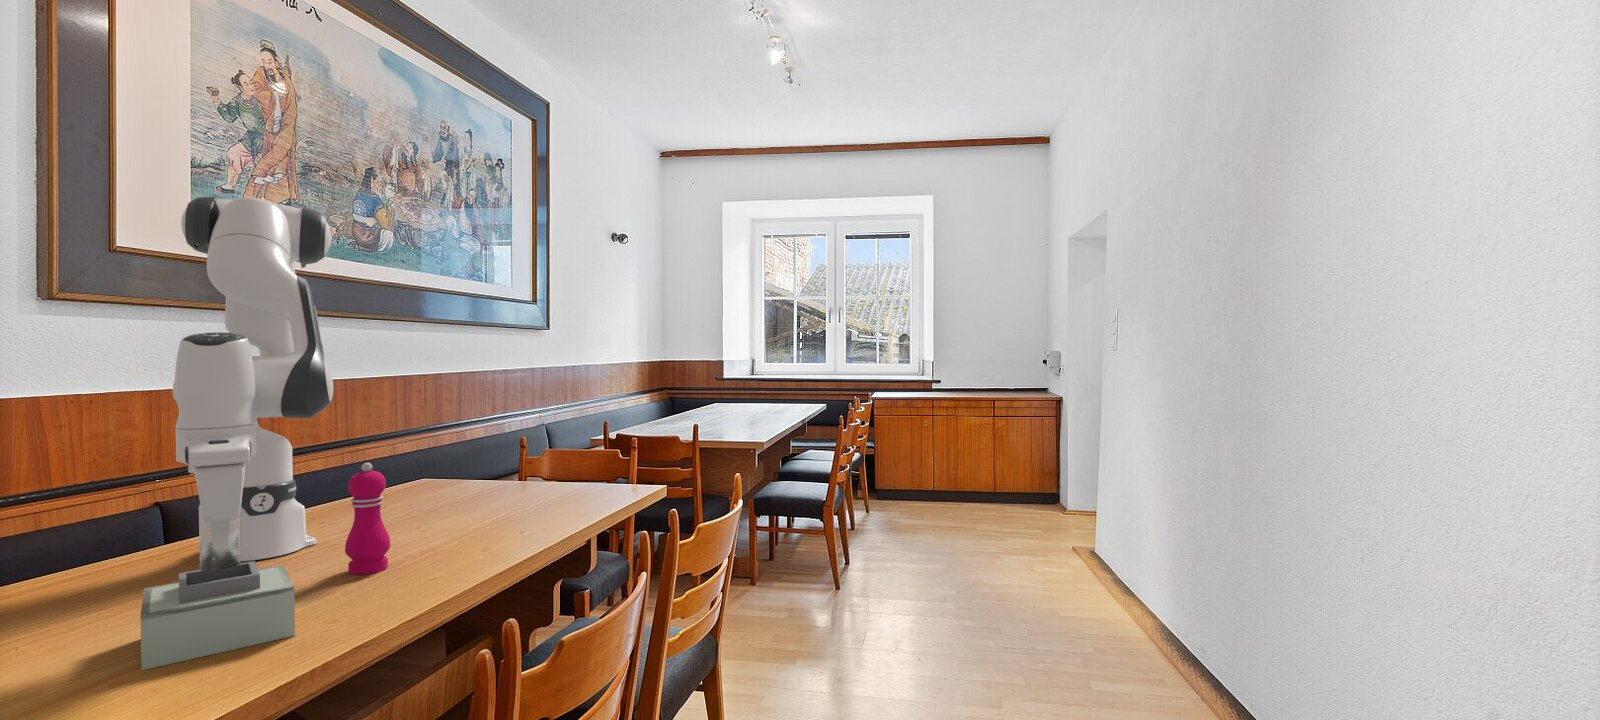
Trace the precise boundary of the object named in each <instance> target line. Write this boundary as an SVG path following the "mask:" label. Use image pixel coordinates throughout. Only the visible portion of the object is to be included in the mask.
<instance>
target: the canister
mask: <svg viewBox="0 0 1600 720" xmlns="http://www.w3.org/2000/svg"><path fill="white" fill-rule="evenodd" d="M198 529H199V530H198V531H199V533H198V535H199V537H198V539H199V540H198V541H199V558H200V561H199V570H202V571H214V570H221V569H227V568H231V567H234V566H237V565H239V564H240V563H241V561H240V537H239V517H238V519H236V520H232V521H230V528H229V545H228V546H227V547H225V548H218V549H214V548H213V547H212V535H211V527H210V523H205V522H204V519H203V515H202V510H201V505H200V504H199V505H198Z"/></svg>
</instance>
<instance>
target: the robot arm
mask: <svg viewBox="0 0 1600 720" xmlns="http://www.w3.org/2000/svg"><path fill="white" fill-rule="evenodd" d="M181 215H182V216H181V221H180V222H181V223H180V224H181V225H180V226H181V230H182V233H183V236H184V238H185V241H186V242H185V243H186V244H187V245H188V246H189V247H191V248H192V249H193V250H194V251H196V252H199V253H202V254H206V273H207V277H208V279H209V281H210V282H211V284H212V286H213V287H214V288H215V289H216V290H217V291H218V292H220V293H221V294H222V295H223V296H224V297H225V306H224V307H225V308H224V309H225V310H224V326H225V329H226V330H227V332H205V333H194V334H190V335H188V336H185V337H183V338H182V339H181V340H180V341H179V346H178V350H177V355H176V361H175V362H176V363H175V372H174V381H173V385H172V396H173V400H174V401H175V403H176V405H177V407H178V416H177V419H176V423H175V431H174V432H175V460H176V462H178V463H182V464H184V465H187V466H188V468H187V469H188V471H187V472H188V473H189V474H194V476H195V480H196V481H195V482H196V486H197V487H196V488H197V493H198V499H199V505H201V510H202V515H203V519H204V522H205V523H210V527H211V535H212V547H213V548H214V549H218V548H225V547H227V546H228V545H229V528H230V521H232V520H236V519H238V517H239V537H240V562H251V561H256V560H258V561H259V560H263V559H269V558H274V557H280V556H283V555H288V554H291V553H293V552H296V551H299V550H302V549H303V548H307V547H309V546H313V545H316V544H317V543H318V542H317V538H316V537H313V536H311V535H308V534H307V524H306V523H307V522H306V510H305V509H306V508H305V505H303V504H302V503H301V502H298V501H297V500H296V498H295V497H296V496H297V492H296V491H297V485H296V480H295V479H294V476H293V475H294V474H293V473H294V472H293V470H294V469H293V467H294V466H293V446H292V444H291V442H290V440H289V439H287V438H286V437H285V436H283V435H281V434H279V433H276V432H273V431H271V430H268V429H264V428H261V426H260V425H259V423H258V419H263V418H266V419H267V418H289V419H291V418H292V419H312V418H313V417H315V416H317V415H318V414H320V413H321V412H322V411H324V410H325V409H326V408H328V406H330V405H331V402H332V400H333V399H332V398H333V396H334V395H333V394H334V380H333V375H332V373H331V370H330V368H329V366H328V363H327V361H326V359H325V353H324V349H323V342H322V336H321V335H322V334H321V329H320V324H319V318H318V313H317V309H316V308H317V307H316V305H315V300H314V295H313V292H312V288H311V285H310V284H309V283H308V280H307V279H306V278H304V277H302V276H300V275H297V274H296V269H295V262H297V263H300V266H301V269H303V268H306V266H307V265H312V264H316V263H319V261H321V260H323V259H324V258H325V256H326V254H327V253H328V252H329V250H330V247H331V245H332V232H331V228H330V226H329V223H328V221H327V218H326V217H325V215H324V214H323V213H321V212H319V211H316V210H313V209H309V208H306V207H303V208H298V207H295V206H290V205H285V204H281V203H276V202H270V201H267V200H265V199H263V198H258V197H240V198H237V199H233V198H232V199H230V198H219V197H218V196H202V197H201V196H200V197H196V198H194V199H192V200H191V201H189V202H188V204H187V206H186V208H185V209H184V210H183V214H181ZM251 346H253V347H256V348H258V350H259V354H260V355H257V356H255V355H253V354H252V349H251ZM198 561H199V562H200V557H199V559H198Z"/></svg>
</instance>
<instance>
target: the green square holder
mask: <svg viewBox="0 0 1600 720" xmlns="http://www.w3.org/2000/svg"><path fill="white" fill-rule="evenodd" d="M292 581H293V580H292V579H291V578H290V575H289V574H288V572H287V570H286V568H285V565H284V564H280V565H275V566H269V567H262V568H258V566H257V564H256V560H250V561H244V562H240V564H239V565H237V566H234V567H231V568H227V569H221V570H214V571H202V570H200V569H197V570H191V571H183V572H180V573H178V582H175V583H168V584H162V585H157V586H156V585H155V586H152V587H145V588H144V589H143V594H142V595H143V597H142V603H141V609H140V617H139V618H140V656H141V657H140V659H141V671H145V670H149V669H154V668H158V667H162V666H167V665H172V664H176V663H180V662H184V661H189V660H193V659H197V658H198V659H199V658H203V657H207V656H210V655H211V656H212V655H215V654H220V653H224V652H229V651H234V650H238V649H241V648H242V649H243V648H246V647H250V646H256V645H261V644H265V643H269V642H273V641H277V640H282V639H287V638H291V637H295V636H296V611H295V606H296V605H295V602H296V601H295V585H294V584H293V582H292Z"/></svg>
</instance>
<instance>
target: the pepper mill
mask: <svg viewBox="0 0 1600 720" xmlns="http://www.w3.org/2000/svg"><path fill="white" fill-rule="evenodd" d="M360 468H361V471H359V472H357V473H355V474H354V475H352V476H351V477H350V479H349V480H348V484H347V491H348V492H349V494H350V495H351V496H352V497H353V498H352V499H351V500H350V501H351V505H350V506H351V507H352V508H353V510H354V511H353V512H354V516H353V517H354V518H353V524H352V527H351V529H350V530H349V533H348V535H347V539H346V541H345V546H344V547H345V548H344V553H345V555H346V556H347V557H348V558H349V559H351V560H350V561H349V562H348V564H347V565H348V573H349V574H350V575H353V576H354V575H357V576H358V575H370V574H374V573H375V574H376V573H378V572H381V571H384V570H386V569H387V568H388V567H389V560H388V559H389V558H388V556H386V555H385V554H387V552H389V550H390V548H391V538H390V534H389V532H388V530H387V529H386V527H385V525H384V522H383V520H382V515H381V507H382V504H383V503H384V501H383V498H384V496H383V495H382V493H383V492H384V491H385V489H386V488H387V487H386V486H387V482H386V478H385V476H384V475H383V474H382V473H381V472H379V471H377V470H373V465H372V464H371V463H370V462H365V463H363V464H362V465H361V467H360Z"/></svg>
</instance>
